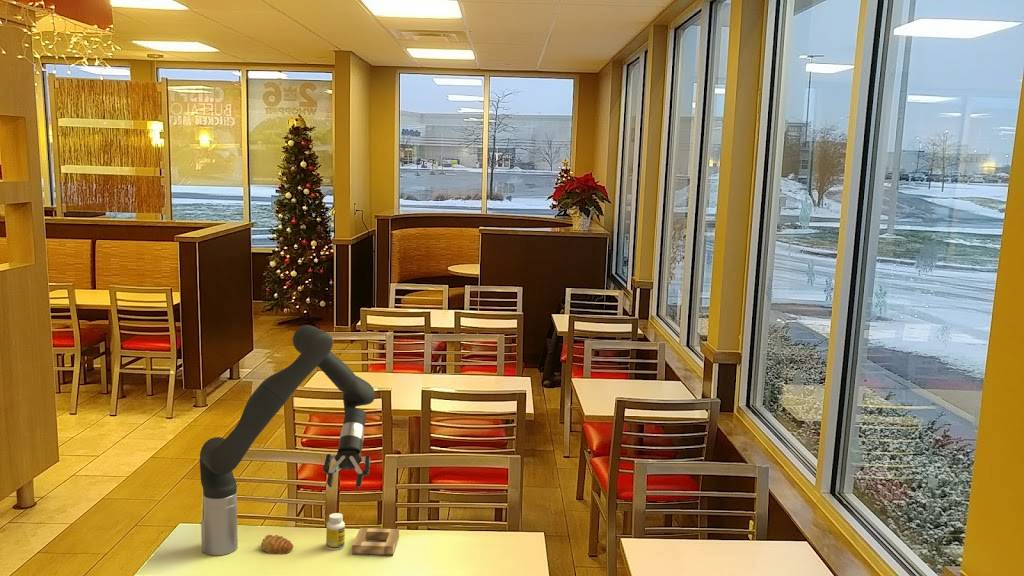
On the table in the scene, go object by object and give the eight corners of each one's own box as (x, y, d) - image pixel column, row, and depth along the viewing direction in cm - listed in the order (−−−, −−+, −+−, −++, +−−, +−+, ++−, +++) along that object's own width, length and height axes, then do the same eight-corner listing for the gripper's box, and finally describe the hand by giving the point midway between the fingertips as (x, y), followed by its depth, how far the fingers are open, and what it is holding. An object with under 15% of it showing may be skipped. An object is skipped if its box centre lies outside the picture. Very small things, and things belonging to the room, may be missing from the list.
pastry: (298, 548, 239) (298, 536, 239) (284, 557, 233) (284, 545, 232) (271, 542, 242) (271, 530, 242) (257, 552, 236) (257, 539, 235)
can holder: (352, 554, 235) (352, 545, 235) (360, 537, 247) (360, 527, 247) (392, 556, 235) (392, 546, 235) (398, 538, 247) (398, 529, 247)
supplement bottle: (340, 551, 237) (340, 520, 236) (323, 549, 238) (323, 518, 237) (347, 543, 242) (347, 512, 241) (330, 541, 244) (331, 511, 242)
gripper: (327, 433, 257) (318, 480, 247) (372, 434, 257) (365, 482, 247) (331, 444, 263) (323, 490, 253) (374, 445, 263) (368, 492, 253)
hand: (343, 486), depth 250 cm, fingers open, 8 cm apart
